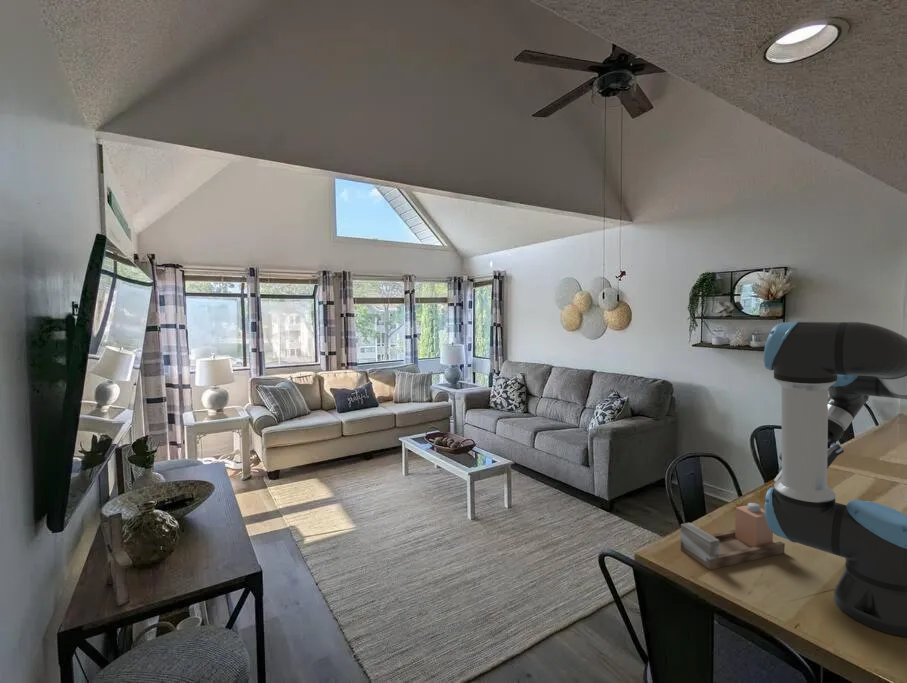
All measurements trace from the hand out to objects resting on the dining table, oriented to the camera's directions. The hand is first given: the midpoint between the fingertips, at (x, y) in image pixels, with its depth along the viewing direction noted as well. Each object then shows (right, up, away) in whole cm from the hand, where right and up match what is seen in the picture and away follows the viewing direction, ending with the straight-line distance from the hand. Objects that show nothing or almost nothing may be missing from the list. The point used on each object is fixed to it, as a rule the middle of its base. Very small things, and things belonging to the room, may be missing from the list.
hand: (785, 486), depth 126 cm
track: (-18, -17, -4) cm, 25 cm away
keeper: (-10, -15, -2) cm, 18 cm away
